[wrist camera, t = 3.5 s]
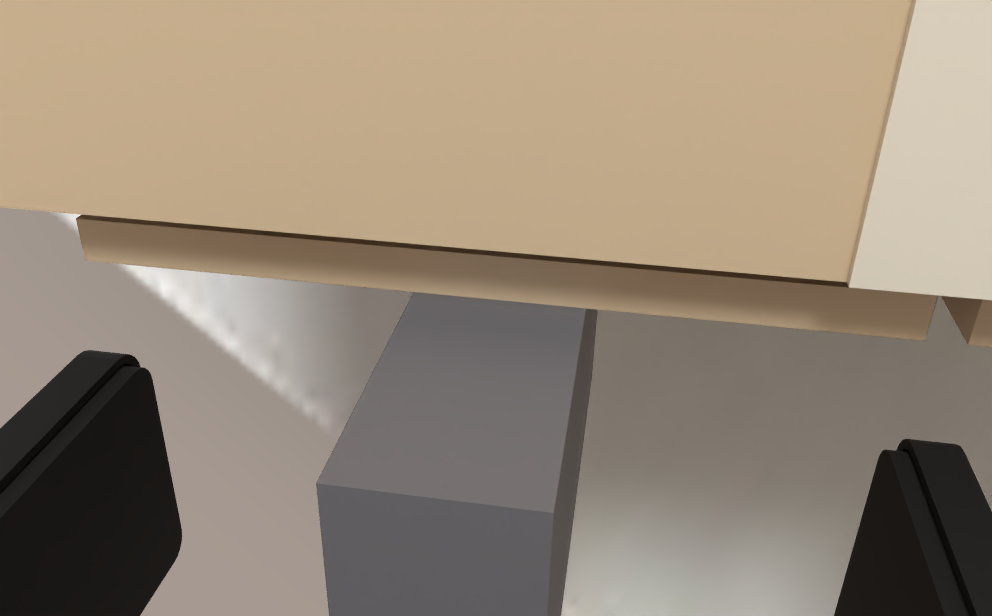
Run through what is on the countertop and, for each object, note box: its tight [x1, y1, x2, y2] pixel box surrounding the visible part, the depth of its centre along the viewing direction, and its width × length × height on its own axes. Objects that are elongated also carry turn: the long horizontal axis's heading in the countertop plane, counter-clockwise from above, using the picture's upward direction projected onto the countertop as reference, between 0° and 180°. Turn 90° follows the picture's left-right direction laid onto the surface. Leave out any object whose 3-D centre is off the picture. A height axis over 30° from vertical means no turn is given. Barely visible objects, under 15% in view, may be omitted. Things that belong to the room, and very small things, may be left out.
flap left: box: [76, 215, 938, 616], centre depth 13 cm, size 9×4×13 cm, turn 89°
